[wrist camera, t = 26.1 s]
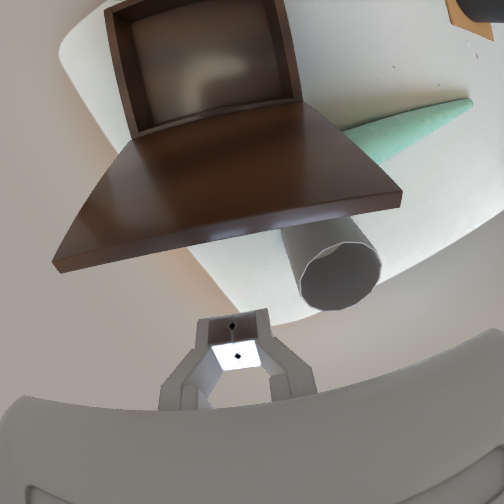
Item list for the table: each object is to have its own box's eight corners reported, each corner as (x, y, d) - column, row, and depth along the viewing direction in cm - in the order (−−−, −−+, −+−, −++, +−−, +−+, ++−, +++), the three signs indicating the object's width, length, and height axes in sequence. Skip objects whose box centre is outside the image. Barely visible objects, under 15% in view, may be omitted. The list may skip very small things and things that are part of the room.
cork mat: (433, -34, 12) (435, -35, 12) (478, -13, 12) (480, -13, 11) (451, 24, 17) (453, 24, 17) (492, 40, 17) (493, 41, 17)
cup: (277, 256, 35) (292, 313, 27) (285, 194, 30) (307, 240, 22) (339, 257, 36) (367, 309, 27) (353, 200, 31) (392, 243, 23)
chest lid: (50, 262, 10) (60, 274, 10) (403, 190, 9) (400, 208, 10) (129, 140, 20) (132, 148, 20) (305, 101, 19) (305, 110, 20)
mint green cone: (499, 128, 20) (326, 206, 25) (472, 119, 25) (311, 186, 30) (492, 88, 18) (305, 156, 23) (464, 83, 22) (292, 144, 27)
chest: (125, 21, 18) (103, 10, 13) (266, -12, 17) (274, -33, 12) (150, 132, 25) (132, 143, 20) (289, 102, 25) (304, 106, 20)
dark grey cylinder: (447, -7, 14) (493, -13, 7) (461, -21, 12) (503, -27, 4) (474, 29, 17) (520, 31, 9) (486, 12, 14) (529, 14, 6)
